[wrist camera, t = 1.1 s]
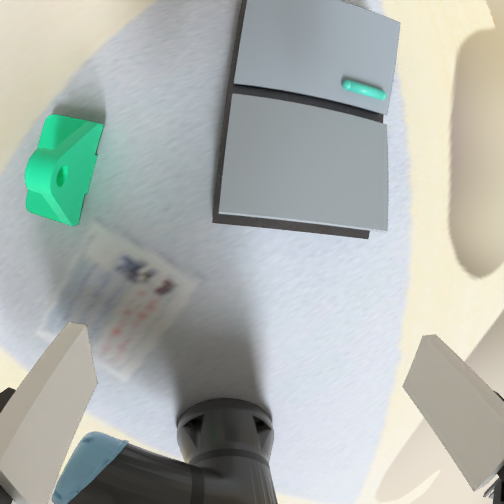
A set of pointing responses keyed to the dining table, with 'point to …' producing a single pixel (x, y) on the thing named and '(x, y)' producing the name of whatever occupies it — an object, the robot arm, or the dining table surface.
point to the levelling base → (291, 98)
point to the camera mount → (62, 168)
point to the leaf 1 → (319, 51)
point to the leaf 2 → (304, 165)
